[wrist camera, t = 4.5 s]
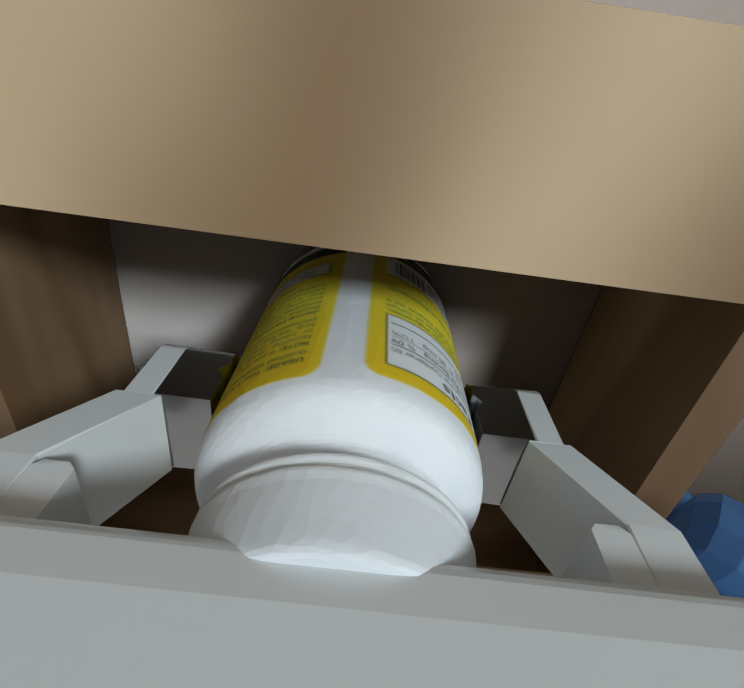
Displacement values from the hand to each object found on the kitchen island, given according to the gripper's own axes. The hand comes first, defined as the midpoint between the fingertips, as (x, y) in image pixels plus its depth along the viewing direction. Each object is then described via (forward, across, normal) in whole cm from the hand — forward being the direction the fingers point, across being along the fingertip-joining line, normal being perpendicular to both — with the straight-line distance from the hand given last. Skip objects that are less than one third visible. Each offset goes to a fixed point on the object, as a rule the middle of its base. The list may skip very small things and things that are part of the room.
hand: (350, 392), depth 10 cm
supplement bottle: (+4, 0, 0) cm, 4 cm away
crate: (+4, 0, 0) cm, 4 cm away
